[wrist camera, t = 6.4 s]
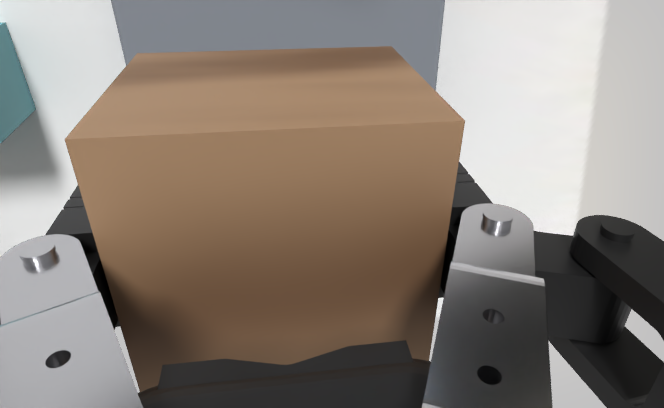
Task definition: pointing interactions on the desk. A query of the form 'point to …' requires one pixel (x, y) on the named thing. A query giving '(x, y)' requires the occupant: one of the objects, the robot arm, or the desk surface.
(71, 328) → the robot arm
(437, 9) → the slate gray board
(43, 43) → the desk surface
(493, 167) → the desk surface
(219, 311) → the walnut block
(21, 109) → the teal block
